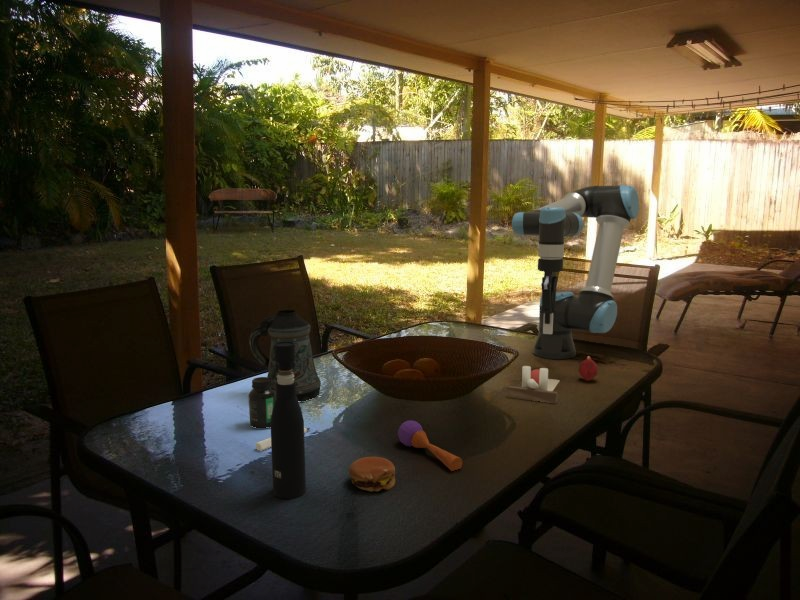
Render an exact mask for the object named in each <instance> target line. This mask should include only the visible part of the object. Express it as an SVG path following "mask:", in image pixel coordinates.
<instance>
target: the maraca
mask: <svg viewBox="0 0 800 600" xmlns="http://www.w3.org/2000/svg"><path fill="white" fill-rule="evenodd" d="M397 436H398V438H399V442H401V444H403V446H405V447H411V446H413V448H417V449H419V448H421V449H422V448H423V449H424V448H427V449H428V450H429V451H430V452H431V453H432V454H433V455H434V456H435V457H436V458H437V459H438V460H439V461H440V462H441V463H442V464H443V465H444V466H445V467H446V468H448V469H449V470H450V471H451V472H452V471H454V470H457V469H460V470H461V468H462V466H463V460H462V458H461V457H459V456H457V455H455V454H453V453H451V452H448V451H446V450H445V449H443V448H440V447H439V446H436V445H434V444H432V443H430V441H429V439H428V436H427V433H426V432H425V431H424V430H423V427H422V425H421V424H420V423H419V422H418V421H415V420H406V421H404V422H403V423H401V425H400V426H399V428H398V429H397ZM457 471H458V470H457ZM454 472H455V471H454Z"/></svg>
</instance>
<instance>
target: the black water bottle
mask: <svg viewBox="0 0 800 600" xmlns="http://www.w3.org/2000/svg"><path fill="white" fill-rule="evenodd" d="M274 352H275V362H278V363H279V369H278V371H279V372H280V373H278V376H277V378H278V379H277V381H278V382H277V383H276V400H275V403H274V406H273V410H272V415H271V428H270V438H271V448H270V449H271V469H272V470H271V471H272V473H271V474H272V475H271V476H272V493H273V495H274V496H275V497H276V496H277V497H276V498H278V497H279V498H278V499H282V498H285V499H284V500H290V498H292V499H296V498H299V497H301V496H303V495H304V494H305V493H306V490H307V487H306V486H307V485H306V484H307V483H306V482H307V481H306V478H307V477H306V451H305V450H306V449H305V434H304V428H305V421H304V415H303V411H302V407H301V405H300V403H299V402H298V399H297V397H296V382H294V375H293V372H291V371H292V362H293V361H295V343H293V342H278V343H275V344H274ZM286 498H287V499H286Z"/></svg>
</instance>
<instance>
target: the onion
mask: <svg viewBox="0 0 800 600" xmlns="http://www.w3.org/2000/svg"><path fill="white" fill-rule="evenodd" d="M598 369H599V368H598V365H597V363H596V362H595V361H594V360H593V359H592V358H591V356H589V355H588V356H587V357H586V358H585V359H584V360H582V361H581V363H580V364H579V366H578V374H579V375H580V376H581V378H582V379H583V380H585V381H586V382H590V381H591V380H593V379H594V378H595V377H596V376H597V374H598V372H599V370H598Z"/></svg>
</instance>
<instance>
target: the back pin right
mask: <svg viewBox="0 0 800 600" xmlns="http://www.w3.org/2000/svg"><path fill="white" fill-rule="evenodd" d="M521 368H522V370H521V373H522V374H521V387H522V388H530V387H529V386H528V385H527V381H528V380H529V379H531V371H532V367H531V366H530V365H523V366H522V367H521Z"/></svg>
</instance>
